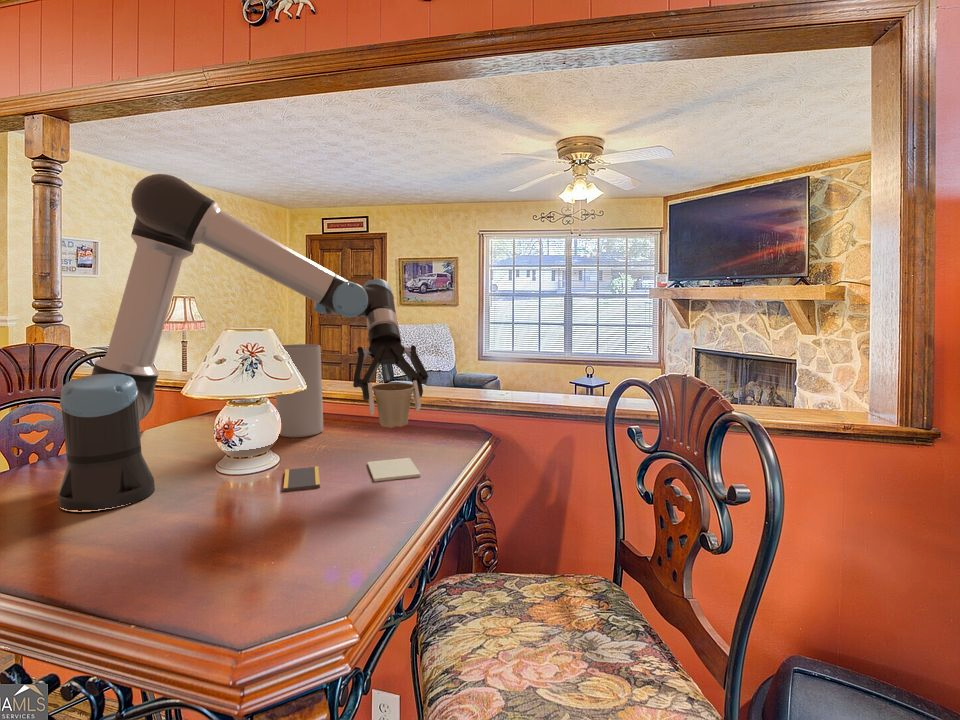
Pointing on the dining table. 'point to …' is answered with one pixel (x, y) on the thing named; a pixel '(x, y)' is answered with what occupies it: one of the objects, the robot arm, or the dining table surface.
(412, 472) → the pad
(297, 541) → the dining table surface
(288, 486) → the trap mat
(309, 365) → the cylinder vase
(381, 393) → the flower pot
